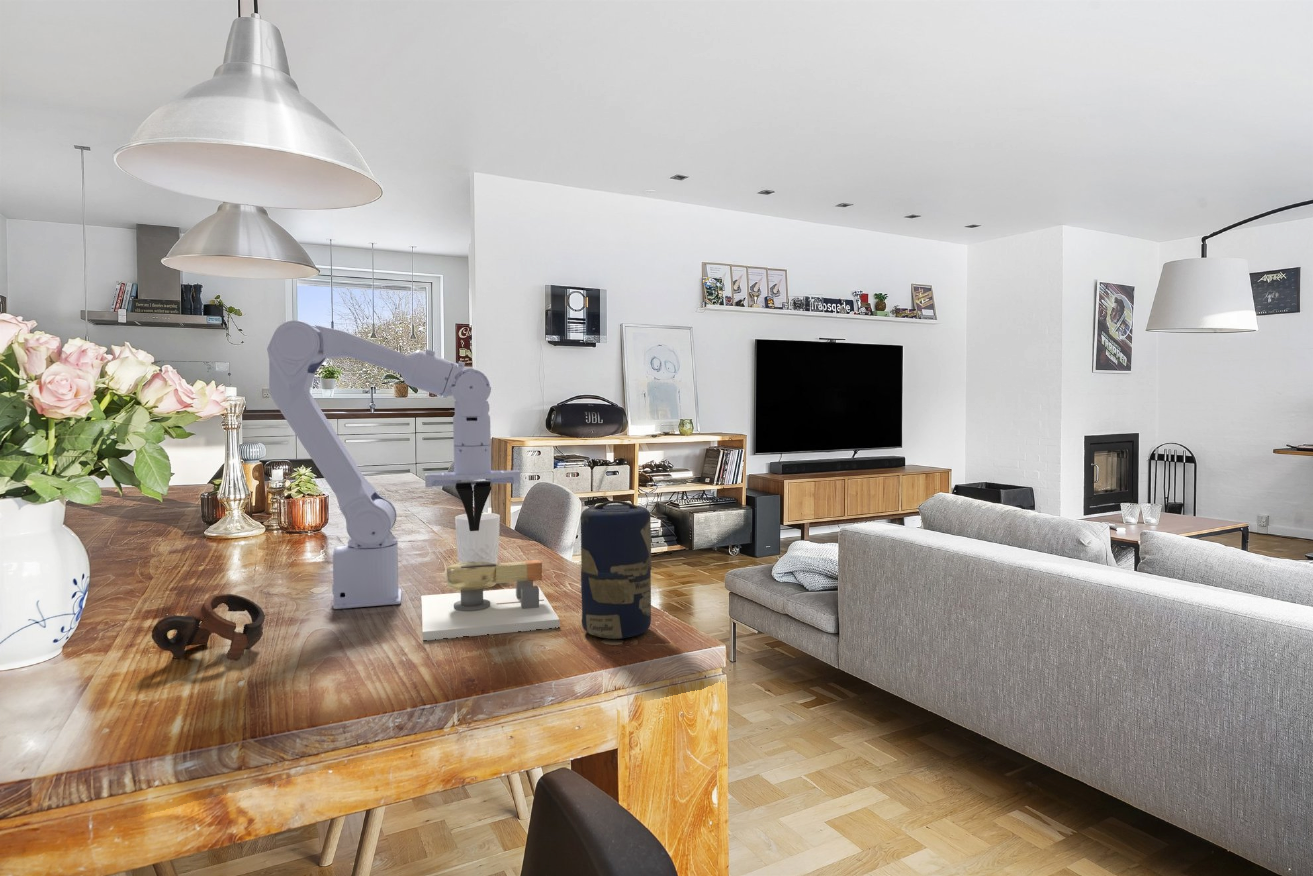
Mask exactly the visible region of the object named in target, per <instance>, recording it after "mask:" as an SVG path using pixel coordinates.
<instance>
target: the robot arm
mask: <svg viewBox="0 0 1313 876" xmlns="http://www.w3.org/2000/svg"><path fill="white" fill-rule="evenodd" d="M266 350H267V356H268V361H269V362H268V363H269V365H268V368H269V369H268V370H269V372H268V375H269V376H268V391H269V395H270V397H271V399H272V400H273V402H274V403H275V405H276V407H277V408H278V410H279V412H281V414H282V416H283V418H284V419H285V420H286V423H288V425H289V426H290V427H291V429H292V431H293V432H294V434H295V435H296V437H297V439H298V440H299V442H300V443H301V444H302V446H303V448H304V449H305V451H306V452H307V454H308V456H309V457H310V458H311V460H312V462H313V463H314V464H315V466H316V468H317V469H318V471H319V472H320V474H321V475H322V476H323V478H324V479H325V481H326V483H327V484H328V486H329V487H330V490H332V492H333V493H334V495H335V496H336V500H337V504H338V507H339V510H340V512H341V513H342V515H343V516H344V519H345V522H346V533H347V535H348V536H349V538H350V539H348V540H347V544H346V545H336V546H334V548H333V552H332V553H333V555H332V581H333V582H332V588H331V589H332V591H331V592H332V595H333V609H335V610H341V609H352V608H363V607H376V606H378V607H379V606H390V605H400V604H401V603H402V588H400V587H399V557H398V556H399V553H398V552H399V547H398V545H399V544H398V538H397V537H396V536H395V535H394V534H393V532H392V529H393V527H394V526H395V524H396V522H397V516H398V515H397V510H396V508H395V506H394V505H393V503H392V502H391V501H389V500H388V499H386V498H385V497H383V496H382V495H381V494H379V492H378V491H377V489H376V487H375V486H373V485H372V484H371V482H370V481H368V479H366V477H365V475H364V474H363V473H362V471H361V469H360V468H359V466H358V465H357V463H356V462H355V460H354V458H353V457H352V456H351V454H350V452H349V451H348V449H347V448H346V446H345V445H344V443H343V441H342V440H341V439H340V437H339V435H338V434H337V432H336V431H335V429H334V428H333V426H332V425H331V423H330V422H329V420H328V418H327V417H326V415H325V413H324V412H323V410H322V409H321V408H320V405H319V404H318V403H317V402H316V400H315V398H314V396H313V395H312V393H311V392H310V390H311V388H312V384H313V381H314V379H315V375H316V372H318V370H319V368H320V367H321V366H322V365H323V363H324V362H325V361H326V359H330V360H339V359H346V358H351V359H354V360H358V361H361V362H364V363H367V364H370V365H374V366H377V367H380V368H383V369H387V370H389V371H393V372H396V373H398V374H400V375H401V377H402V379H403V381H404V383H405V385H407V386H408V387H413V388H415V389H417V390H421V391H425V392H427V393H430V394H433V395H435V396H439V397H443V398H448V397H451V396H452V397H453V398H454V400H455V401H454V415H453V416H452V421H453V422H452V426H453V427H452V430H453V431H452V432H453V472H452V471H450V472H449V471H447V472H436V473H435V472H433V473H424V482H425V483H424V484H425V488H433V487H452V486H454V487H455V488H454V489H455V490H456V491H457V492H456V493H457V494H458V496H459V498H460V500H461V502H462V505H463V508H464V510H465V514H467V518H468V523H469V530H470V531H479V525H480V519H481V515H482V513H484V509H485V505H486V502H487V500H488V498H489V497H490V494H491V491H492V486H491V485H494V484H495V485H496V484H514V485H515V484H516V485H517V484H520V483H521V482H520V481H521V479H520V477H521V476H520V473H521V472H520V470H518V469H517V470H516V469H515V470H492V447H491V444H492V442H491V441H492V440H491V439H492V438H491V436H492V435H491V415H489V412H490V403H489V401H488V399H489V397H490V395H491V393H492V387H491V385H490V384H491V383H490V381H489V379H488V377H487V376H486V375H485V374H484V372H481V370H478V369H474V368H464V367H465V366H466V364H465V362H463V361H460V360H459V361H458V363H457V362H454V361H451V360H448V359H445V358H443V357H440V356H437V355H435V354H436V352H435V351H434V350H432V349H428V348H427V349H426V350H425V351H423V350H420V349H417V350H415V351H412V352H410V353H408V354H405V353H403V352H400V351H397V350H396V349H393V348H389V347H387V346H384V345H382V344H379V343H377V342H374V341H371V340H369V339H366V338H363V337H361V336H359V335H356V334H352V333H350V332H347V331H344V330H341V329H336V328H332V327H327V326H322V325H317V324H315V326H314V325H311V324H309V323H308V322H305V321H303V320H289V321H286V322H283V323H281V324H280V325H279V326H278V327H277V328H276V329H275V331H274V332H273V335H272V337H271V339H270V341H269V344H268V345H267V347H266ZM473 513H474V515H473Z"/></svg>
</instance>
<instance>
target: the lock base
mask: <svg viewBox="0 0 1313 876" xmlns="http://www.w3.org/2000/svg"><path fill="white" fill-rule="evenodd" d="M420 597H421V600H420V601H421V623H422V624H421V625H422V627H421V630H422V631H421V632H422V641H423V640H427V641H436V640H444V639H443V638H448V639H455V638H456V637H458V638H464V637H463V636H469V637H475V636H476V637H479V636H488V635H487V634H489V635H498V634H506V633H507V634H509V633H518V631H521V632H529V631H530V630H531V631H537V630H536V629H542V630H550V629H549V628H552V629H559V628H558V627H561V626H560V618H559V616H558V614H557V613H556V612H555V610H554V609H553V608H554V607H552V605H551V603H550V602H549V600H548V599H547V597H546V596H545V594H544V592H543V590H541V588H540V586H538V585H534V581H520V582H515V588H504V589H492V590H491V589H490V590H489V589H488V590H484V589H479V590H460V592H456V593H455V592H453V593H451V592H450V593H442V594H430V595H429V594H428V595H421V596H420ZM555 627H556V628H555ZM435 639H436V640H435ZM456 639H457V638H456Z"/></svg>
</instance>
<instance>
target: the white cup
mask: <svg viewBox="0 0 1313 876" xmlns="http://www.w3.org/2000/svg"><path fill="white" fill-rule="evenodd" d="M473 515H474V512H473ZM500 519H501V515H500V514H499V513H498V514H497V513H493V512H482V515H481V519H480V525H479V531H470V530H469V523H468V518H467V514H466V513H462V514H459V515H456V516H455V517H454V523H455V524H454V525H455V537H456V538H455V539H456V540H455V542H456V552H457V553H456V554H457V555H456V556H457V559H458V563H462V562H490V563H493V564H497V563H498V556H499V545H500Z"/></svg>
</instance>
